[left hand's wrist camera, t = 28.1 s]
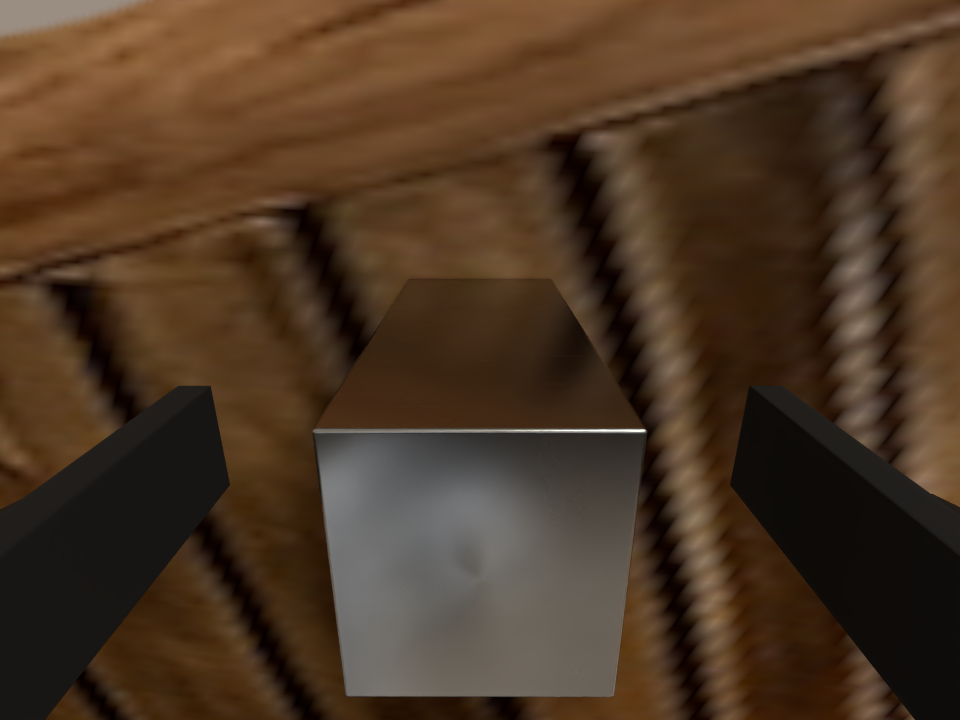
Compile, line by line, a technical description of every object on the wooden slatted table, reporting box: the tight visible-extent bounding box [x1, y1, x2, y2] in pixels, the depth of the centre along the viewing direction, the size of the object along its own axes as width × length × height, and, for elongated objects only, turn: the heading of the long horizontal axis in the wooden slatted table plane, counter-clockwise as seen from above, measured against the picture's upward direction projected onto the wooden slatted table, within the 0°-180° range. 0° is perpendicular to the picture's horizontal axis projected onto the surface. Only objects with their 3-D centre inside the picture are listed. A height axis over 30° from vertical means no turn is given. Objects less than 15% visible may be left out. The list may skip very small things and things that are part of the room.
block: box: [312, 279, 647, 697], centre depth 13 cm, size 5×5×10 cm
